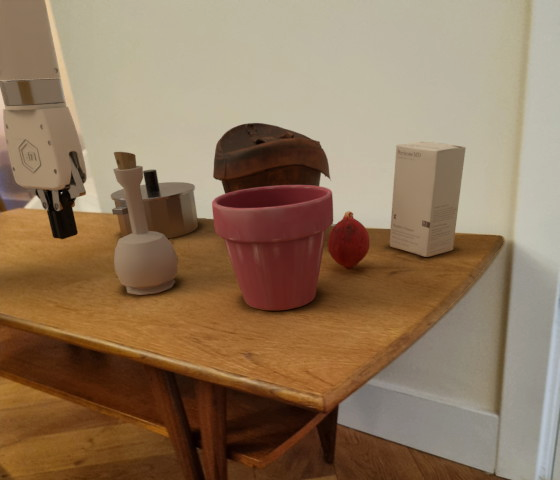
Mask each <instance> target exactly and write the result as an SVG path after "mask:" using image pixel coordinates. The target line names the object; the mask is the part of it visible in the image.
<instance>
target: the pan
mask: <svg viewBox="0 0 560 480" xmlns="http://www.w3.org/2000/svg"><path fill="white" fill-rule="evenodd" d="M194 191H195V190H194ZM194 191H193V192H191V193H188V194H186V195H182V196H179V197H174V198H169V199H163V200H156V201H146V202H143V205H144V210H145V216H146V221H147V226H148V231H154V232H159V233H162V234H164V235H165V236H166V238H167V239H168V240H169V239H172V238H173V239H174V238H177V237H181V236H185V235H187V234H190V233H192V232H194V231H196V230H197V229H198V227H199V220H198V214H197V205H196V198H195V192H194ZM113 201H114V200H113ZM113 203H114V206H115V207H113V208H111V212H112V215H117V220H118V221H117V222H118V226H119V230H120V234H121V238H122V237H125V236H127V235H129V234H131V233H132V228H131V223H130V218H129V213H128V208H127V204H126V202H119V201H114V202H113Z"/></svg>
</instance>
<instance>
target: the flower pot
mask: <svg viewBox="0 0 560 480" xmlns="http://www.w3.org/2000/svg"><path fill="white" fill-rule="evenodd" d="M211 206H212V207H211V208H212V218H213V225H214V233H215V234H216V235H217V236H218V237H220V239H221V238H222V239H223V241H224V244H225V248H226V251H227V254H228V257H229V260H230V263H231V266H232V269H233V273H234V275H235V278H236V281H237V283H238V286H239V288H240V291H241V294H242V297H243V300H244V302H245V304H247V305H248V306H249V307H251V308H253V309H257V310H261V311H262V310H263V311H287V310H291V309H297V308H300V307H303V306H306V305H308V304H310V303H311V302H313V301H314V299H315V297H316V295H317V289H318V284H319V277H320V272H321V267H322V260H323V259H322V258H323V254H324V248H325V242H326V241H325V240H326V234H327V233H326V232H327V230H328V229H329V228H331V227H332V225H333V224H334V198H333V191H332V190H331V189H330V188H328V187H324V186H320V185H319V186H313V185H279V186H265V187H256V188H249V189H243V190H238V191H233V192H229V193H226V194H225V193H223V194H221V195H218V196H217V197H214V199H213V200H212V202H211Z"/></svg>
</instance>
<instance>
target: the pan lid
mask: <svg viewBox="0 0 560 480" xmlns="http://www.w3.org/2000/svg"><path fill="white" fill-rule="evenodd" d="M143 180H144V184H140V189H141V194H142V200H143V202H146V201H156V200H163V199H169V198H174V197H179V196H182V195H186V194H188V193H191V192H193V191H195V190H196V186H195V184H193V183H190V182H185V181H184V182H183V181H180V182H179V181H169V182H168V181H166V182H159V179H158V172H157V169H146V170H143ZM110 199H111V200H112V201H119V202H126V199H125V194H124V189H123V188H122V189H118V190H116V191H113V192H112V193H111V194H110Z"/></svg>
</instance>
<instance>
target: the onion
mask: <svg viewBox="0 0 560 480" xmlns="http://www.w3.org/2000/svg"><path fill="white" fill-rule="evenodd" d="M370 244H371V243H370V236H369V231H368V229H367V228H366V227H365V226H364V225H363V223H362V222H360V221H359V220H357V219H356V218H354V212H352V211H350V210H347V211H345V213H344V214H343V217H342V219H341V220H339V221H338V222H337V223H336V224H334V225H333V227H332V228H331V230H330V233H329V235H328V237H327V250H328V253H329V255H330V257H331V258H332V259H333V260H334V262H336V263H337V264H338V265H340V266H341V267H342V268H344V269H346V270H351V269H353V268H355V266H356V265H358V264H359V263H360V262H362V260H363V259H365V257H366V256H367V254H368V253H369V250H370Z"/></svg>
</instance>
